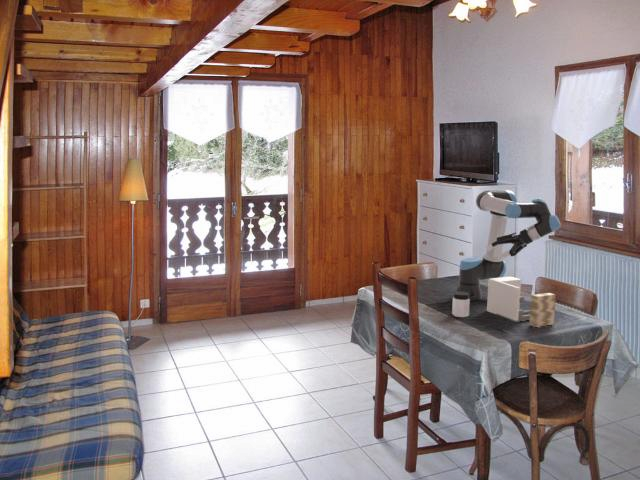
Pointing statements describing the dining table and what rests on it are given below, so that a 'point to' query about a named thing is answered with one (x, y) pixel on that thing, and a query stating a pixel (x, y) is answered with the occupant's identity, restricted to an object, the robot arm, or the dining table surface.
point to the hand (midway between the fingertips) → (492, 253)
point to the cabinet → (506, 298)
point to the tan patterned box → (542, 309)
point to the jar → (460, 304)
